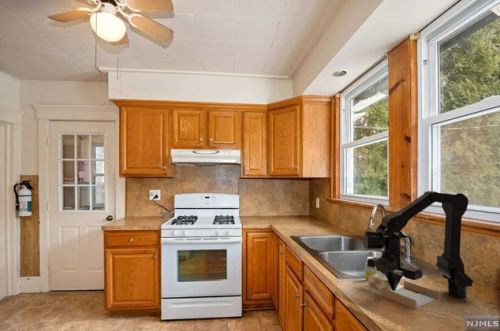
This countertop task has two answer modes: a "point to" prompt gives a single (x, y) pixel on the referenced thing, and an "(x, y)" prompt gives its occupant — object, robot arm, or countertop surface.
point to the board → (408, 294)
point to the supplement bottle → (370, 269)
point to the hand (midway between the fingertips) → (393, 290)
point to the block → (378, 282)
